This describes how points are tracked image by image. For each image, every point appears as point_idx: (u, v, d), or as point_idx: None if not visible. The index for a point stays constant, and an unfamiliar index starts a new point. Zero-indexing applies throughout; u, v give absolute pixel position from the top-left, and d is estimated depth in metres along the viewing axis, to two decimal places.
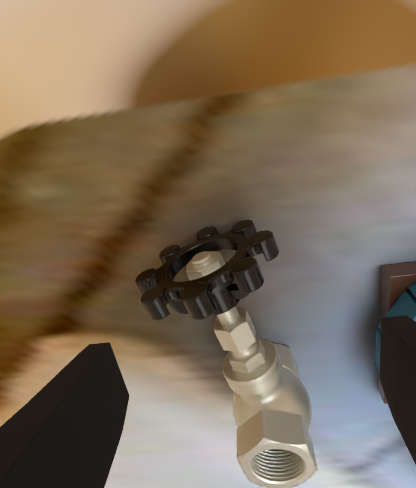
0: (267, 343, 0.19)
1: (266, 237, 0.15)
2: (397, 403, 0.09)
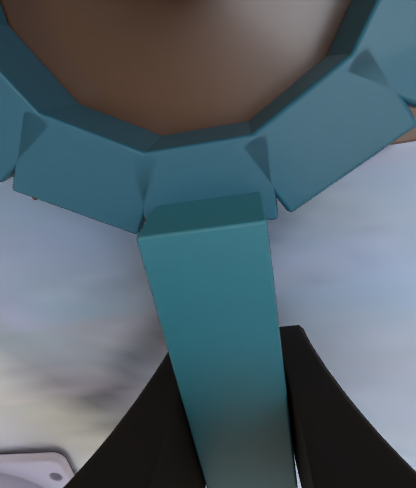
0: None
1: None
2: None
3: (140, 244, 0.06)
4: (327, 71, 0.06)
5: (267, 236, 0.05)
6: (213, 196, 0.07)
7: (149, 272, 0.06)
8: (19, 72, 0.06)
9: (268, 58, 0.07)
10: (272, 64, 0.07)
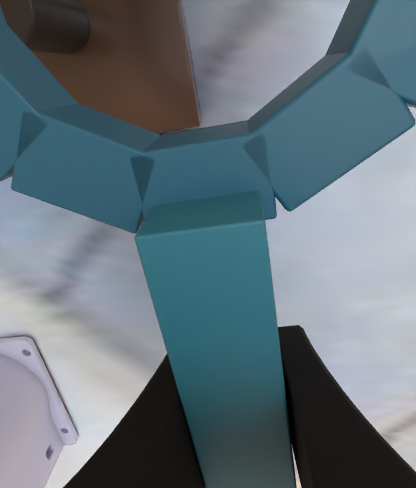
0: None
1: None
2: None
3: (138, 243, 0.06)
4: (325, 70, 0.06)
5: (265, 235, 0.05)
6: (212, 195, 0.07)
7: (147, 272, 0.06)
8: (18, 71, 0.06)
9: (117, 85, 0.15)
10: (119, 88, 0.15)
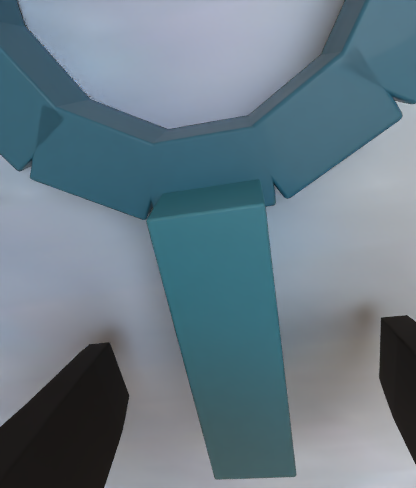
0: None
1: None
2: (396, 403, 0.09)
3: (149, 225, 0.06)
4: (320, 68, 0.06)
5: (265, 218, 0.06)
6: (216, 184, 0.07)
7: (157, 252, 0.06)
8: (37, 69, 0.07)
9: None
10: None
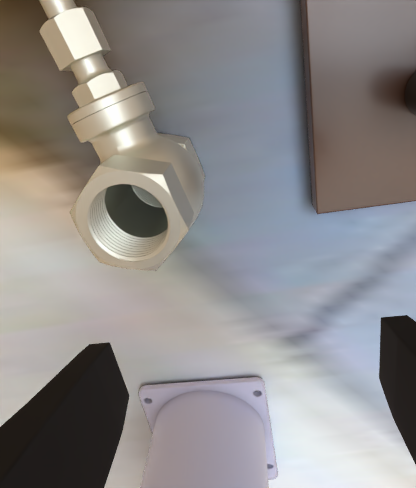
0: None
1: None
2: (396, 403, 0.09)
3: None
4: None
5: None
6: None
7: None
8: None
9: None
10: None
